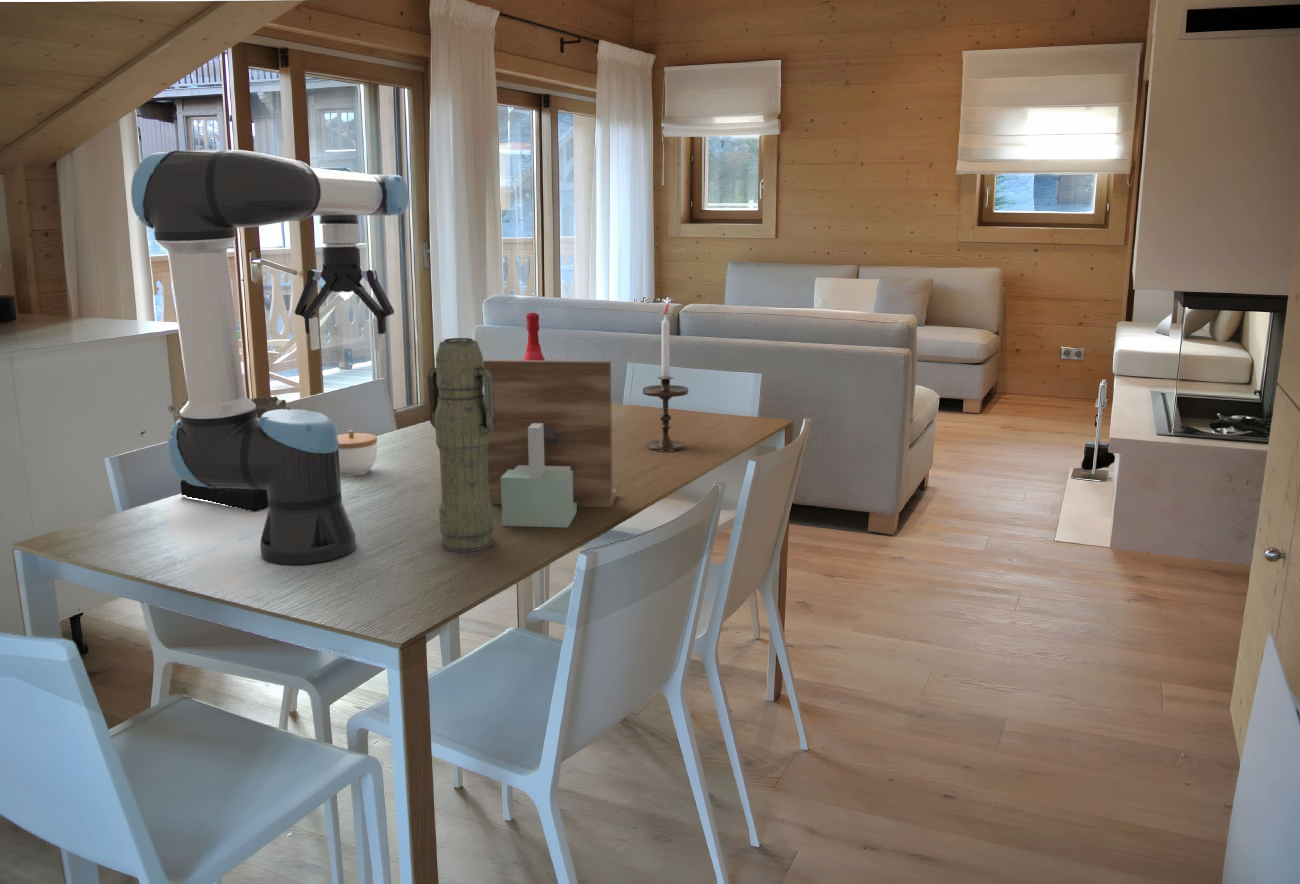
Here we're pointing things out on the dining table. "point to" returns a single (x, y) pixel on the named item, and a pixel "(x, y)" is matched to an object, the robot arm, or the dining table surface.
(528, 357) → the red flared column
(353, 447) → the lidded jar
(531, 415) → the wall board
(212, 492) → the coral
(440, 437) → the thermos
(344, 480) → the dining table surface
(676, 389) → the candlestick
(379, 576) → the dining table surface
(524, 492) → the pale green block
